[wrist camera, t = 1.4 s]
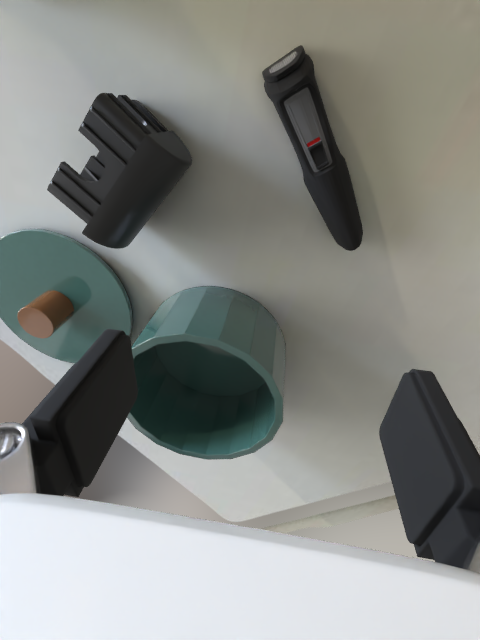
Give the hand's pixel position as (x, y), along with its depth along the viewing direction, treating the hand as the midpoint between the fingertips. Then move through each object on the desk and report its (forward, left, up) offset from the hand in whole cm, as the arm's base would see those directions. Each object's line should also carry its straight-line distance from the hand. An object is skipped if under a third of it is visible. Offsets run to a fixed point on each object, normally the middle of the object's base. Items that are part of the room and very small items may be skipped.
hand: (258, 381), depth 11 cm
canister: (+4, -17, -23) cm, 29 cm away
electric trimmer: (-1, +6, -23) cm, 24 cm away
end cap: (-13, -5, -23) cm, 27 cm away
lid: (-14, -24, -22) cm, 36 cm away
